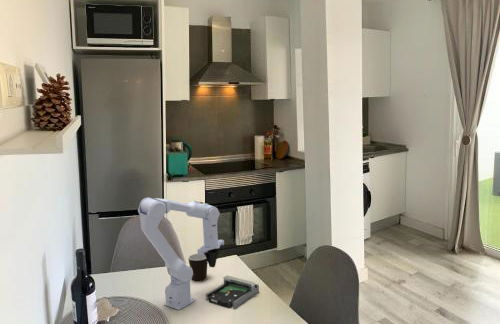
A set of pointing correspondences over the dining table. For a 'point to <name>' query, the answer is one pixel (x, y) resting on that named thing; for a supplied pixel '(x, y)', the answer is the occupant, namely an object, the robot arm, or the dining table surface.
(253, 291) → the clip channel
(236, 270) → the dining table surface
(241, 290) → the disk drive
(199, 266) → the coffee mug
